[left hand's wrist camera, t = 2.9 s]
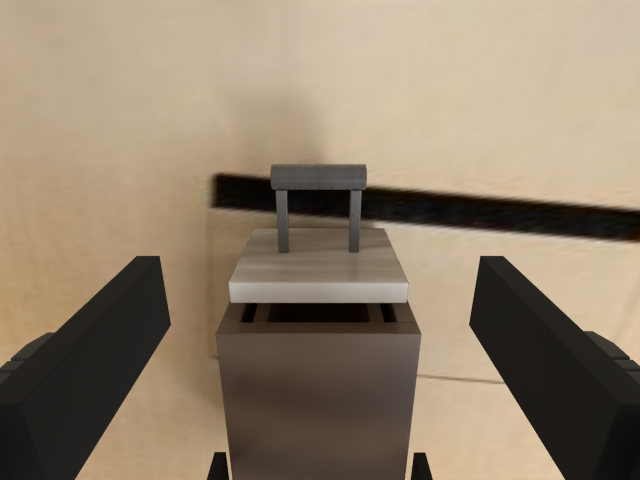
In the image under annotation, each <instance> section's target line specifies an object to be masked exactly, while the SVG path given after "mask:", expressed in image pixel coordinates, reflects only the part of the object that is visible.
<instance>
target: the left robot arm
mask: <svg viewBox="0 0 640 480" xmlns="http://www.w3.org/2000/svg"><path fill="white" fill-rule="evenodd" d="M170 325H171V323H170V317H169V310H168V304H167V298H166V292H165V286H164V280H163V274H162V268H161V262H160V256H136V257H135V258H134V259H133V260H132V261H131V262H130V263H129V264H128V265H127V266H126V267H125V268H124V269H123V270H121V271H120V272H119V273H118V274H117V275H116V276H115V277H114V278H113V279H112V280H111V281H110V282H109V283H108V284H107V285H105V286H104V287H103V288H102V289H101V290H100V291H99V292H98V293H97V294H96V295H95V296H94V297H93V298H92V299H90V300H89V301H88V302H87V303H86V304H85V305H84V306H83V307H82V308H81V309H80V310H79V311H78V312H77V313H75V314H74V315H73V316H72V317H71V318H70V319H69V320H68V321H67V322H66V323H65V324H64V325H63V326H62V327H61V328H59V329H58V330H57V331H56V332H55V333H46V334H45V335H43V336H41V337H39V338H37V339H36V340H34V341H32V342H30V343H29V344H27V345H26V346H24V347H23V348H22V349H21V350H20V351H19V352H18V353H17V354H15V355H14V356H13V357H12V358H11V361H8V362H6V363H5V364H4V365H3V366H2V367H1V368H0V480H75V478H76V477H77V475H78V473H79V472H80V470H81V469H82V467H83V465H84V464H85V462H86V461H87V459H88V457H89V456H90V454H91V453H92V451H93V449H94V448H95V446H96V445H97V443H98V441H99V440H100V438H101V436H102V435H103V433H104V432H105V430H106V428H107V427H108V425H109V424H110V422H111V420H112V419H113V417H114V416H115V414H116V412H117V411H118V409H119V408H120V406H121V404H122V403H123V401H124V399H125V398H126V396H127V395H128V393H129V391H130V390H131V388H132V387H133V385H134V383H135V382H136V380H137V379H138V377H139V375H140V374H141V372H142V371H143V369H144V367H145V366H146V364H147V362H148V361H149V359H150V358H151V356H152V354H153V353H154V351H155V350H156V348H157V346H158V345H159V343H160V342H161V340H162V338H163V337H164V335H165V334H166V332H167V330H168V329H169V327H170ZM469 325H470V327H471V329H472V330H473V332H474V333H475V335H476V337H477V338H478V340H479V342H480V343H481V345H482V346H483V348H484V350H485V351H486V353H487V354H488V356H489V358H490V359H491V361H492V362H493V364H494V366H495V367H496V369H497V371H498V372H499V374H500V375H501V377H502V379H503V380H504V382H505V383H506V385H507V387H508V388H509V390H510V391H511V393H512V395H513V396H514V398H515V399H516V401H517V403H518V404H519V406H520V408H521V409H522V411H523V412H524V414H525V416H526V417H527V419H528V420H529V422H530V424H531V425H532V427H533V428H534V430H535V432H536V433H537V435H538V436H539V438H540V440H541V441H542V443H543V445H544V446H545V448H546V449H547V451H548V453H549V454H550V456H551V457H552V459H553V461H554V462H555V464H556V465H557V467H558V469H559V470H560V472H561V473H562V475H563V477H564V478H565V480H640V366H639V365H638V364H637V363H636V362H635V361H633V360H630V357H629V356H628V355H627V354H625V353H624V352H623V351H622V350H621V349H620V348H619V347H618V346H616V345H615V344H614V343H613V342H611V341H609V340H607V339H605V338H604V337H602V336H600V335H598V334H596V333H595V332H593V331H583V330H582V329H581V328H579V327H578V326H577V325H576V324H575V323H574V322H573V321H572V320H571V319H570V318H569V317H568V316H567V315H566V314H565V313H563V312H562V311H561V310H560V309H559V308H558V307H557V306H556V305H555V304H554V303H553V302H552V301H551V300H550V299H548V298H547V297H546V296H545V295H544V294H543V293H542V292H541V291H540V290H539V289H538V288H537V287H536V286H535V285H533V284H532V283H531V282H530V281H529V280H528V279H527V278H526V277H525V276H524V275H523V274H522V273H521V272H520V271H519V270H517V269H516V268H515V267H514V266H513V265H512V264H511V263H510V262H509V261H508V260H507V259H506V258H505V257H504V256H480V262H479V268H478V274H477V280H476V286H475V292H474V298H473V305H472V311H471V317H470V323H469Z"/></svg>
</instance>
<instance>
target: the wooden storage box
mask: <svg viewBox="0 0 640 480" xmlns="http://www.w3.org/2000/svg"><path fill="white" fill-rule="evenodd" d="M257 305H258V303H231V302H229V304H228V306H227V309H226V311H225V314H224V316H223V318H222V321H221V323H220V325H219V327H218V330H217V332H216V341H217V350H218V358H219V367H220V375H221V384H222V393H223V401H224V410H225V419H226V427H227V436H228V444H229V453H230V462H231V470H232V479H233V480H405V473H406V464H407V455H408V447H409V438H410V429H411V420H412V411H413V403H414V394H415V385H416V376H417V368H418V359H419V350H420V341H421V332H420V330H419V327H418V325H417V323H416V320H415V318H414V315H413V313H412V310H411V308H410V305H409V303H408V300H407V302H406V303H380V307H381V311H382V314H383V318H384V322H385V323H361V322H253V319H254V316H255V312H256V309H257Z"/></svg>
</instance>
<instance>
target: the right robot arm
mask: <svg viewBox="0 0 640 480" xmlns="http://www.w3.org/2000/svg"><path fill="white" fill-rule="evenodd" d="M207 480H229V474H228V466H227V458H226V452H215V453H214V457H213V460H212V464H211V467H210V471H209V474H208V478H207ZM411 480H433V479H432V475H431V472H430V468H429V465H428V461H427V457H426V454H425V453H414V458H413V466H412V474H411Z"/></svg>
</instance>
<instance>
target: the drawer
mask: <svg viewBox="0 0 640 480" xmlns="http://www.w3.org/2000/svg"><path fill="white" fill-rule="evenodd" d="M366 182H367V168H366V165H365V164H272V166H271V186H272V189H277V190H276V206H277V228H254V229H253V231H252V233H251V236H250V238H249V240H248V242H247V244H246V246H245V248H244V251H243V253H242V255H241V257H240V259H239V261H238V264H237V266H236V268H235V270H234V272H233V274H232V276H231V279H230V281H229V293H230V302H231V303H258V305H257V309H256V312H255V316H254V319H253V322H361V323H385V322H384V318H383V314H382V311H381V307H380V303H406V302H407V295H408V284H409V283H408V281H407V278H406V276H405V274H404V272H403V269H402V267H401V265H400V263H399V261H398V258H397V256H396V254H395V252H394V249H393V247H392V245H391V243H390V240H389V238H388V236H387V234H386V232H385V229H376V228H360V219H361V194H362V191H361V189H365V188H366ZM288 189H350V209H349V228H289V222H288Z"/></svg>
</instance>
